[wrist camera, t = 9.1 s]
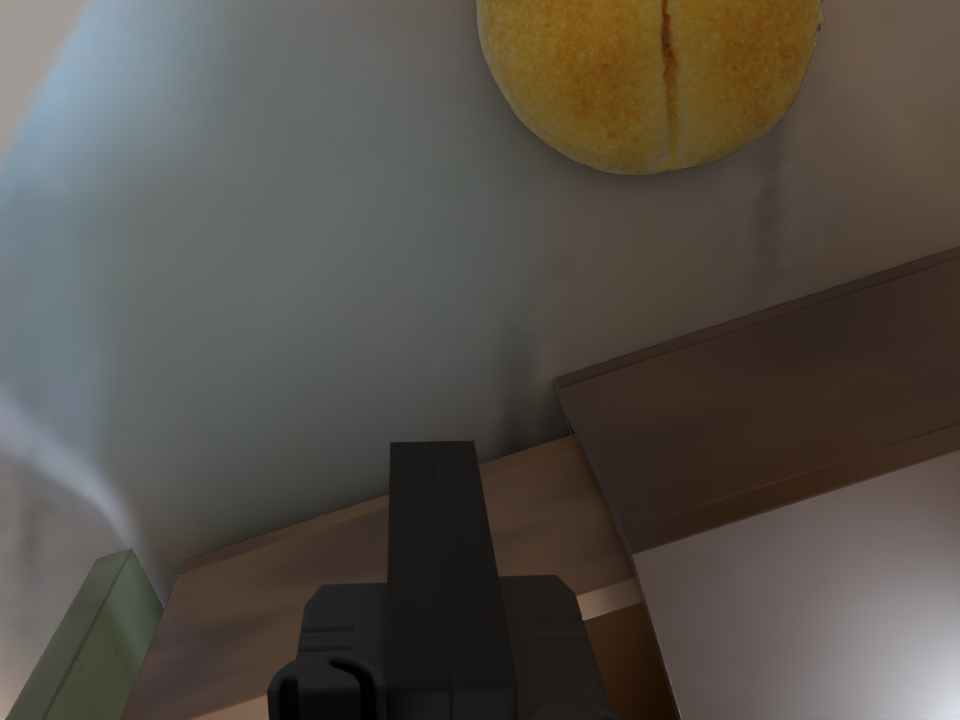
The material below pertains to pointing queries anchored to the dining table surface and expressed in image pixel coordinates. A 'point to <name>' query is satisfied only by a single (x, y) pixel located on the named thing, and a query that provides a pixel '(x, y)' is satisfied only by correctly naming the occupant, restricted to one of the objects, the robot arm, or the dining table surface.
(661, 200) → the dining table surface
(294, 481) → the dining table surface
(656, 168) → the bread roll
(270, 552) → the drawer
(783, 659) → the cabinet
